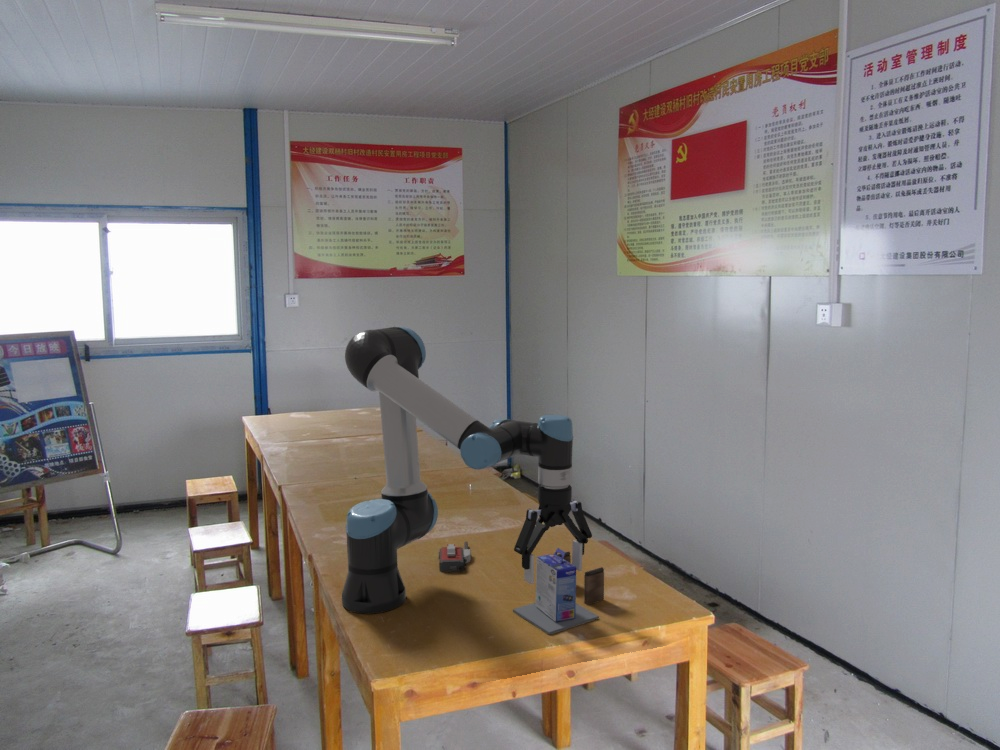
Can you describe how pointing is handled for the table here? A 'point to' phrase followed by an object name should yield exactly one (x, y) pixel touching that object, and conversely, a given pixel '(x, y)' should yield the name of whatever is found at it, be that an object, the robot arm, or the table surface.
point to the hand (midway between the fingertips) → (553, 575)
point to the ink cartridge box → (556, 586)
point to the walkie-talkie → (454, 558)
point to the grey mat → (550, 625)
